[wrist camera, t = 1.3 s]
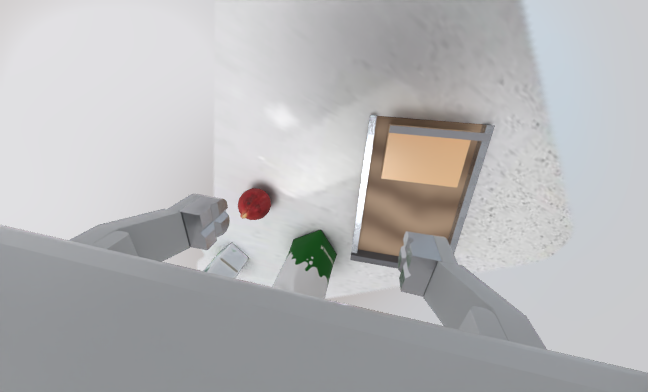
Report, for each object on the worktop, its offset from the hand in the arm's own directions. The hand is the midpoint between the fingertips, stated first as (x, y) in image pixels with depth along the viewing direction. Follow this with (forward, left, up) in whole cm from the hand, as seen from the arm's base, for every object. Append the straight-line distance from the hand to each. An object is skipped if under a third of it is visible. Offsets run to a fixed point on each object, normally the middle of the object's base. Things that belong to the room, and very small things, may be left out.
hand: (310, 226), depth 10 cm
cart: (+4, +10, -29) cm, 31 cm away
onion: (+16, -17, -30) cm, 38 cm away
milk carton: (+27, -6, -30) cm, 41 cm away
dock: (+11, +10, -30) cm, 34 cm away
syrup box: (+34, -26, -30) cm, 53 cm away
